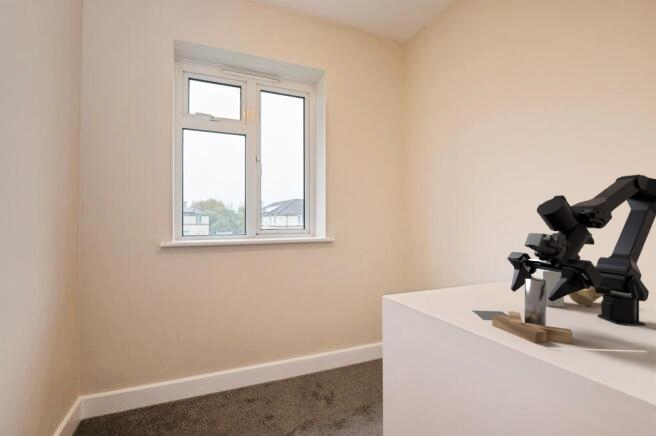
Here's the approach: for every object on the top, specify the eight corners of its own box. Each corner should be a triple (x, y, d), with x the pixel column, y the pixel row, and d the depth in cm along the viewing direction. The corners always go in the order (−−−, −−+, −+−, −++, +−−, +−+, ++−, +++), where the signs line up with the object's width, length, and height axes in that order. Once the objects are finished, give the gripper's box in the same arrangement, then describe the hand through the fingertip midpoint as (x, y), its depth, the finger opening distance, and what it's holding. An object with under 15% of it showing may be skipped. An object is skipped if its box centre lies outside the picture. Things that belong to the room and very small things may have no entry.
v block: (513, 320, 78) (513, 310, 78) (578, 344, 63) (578, 332, 63) (484, 323, 75) (484, 313, 75) (545, 349, 60) (545, 336, 60)
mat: (501, 312, 85) (501, 311, 85) (517, 322, 77) (517, 320, 77) (471, 311, 85) (471, 310, 85) (483, 320, 77) (483, 319, 77)
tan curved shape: (562, 283, 96) (589, 271, 99) (560, 302, 98) (587, 289, 101) (591, 296, 88) (620, 283, 91) (588, 316, 91) (616, 302, 94)
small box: (564, 307, 90) (564, 271, 90) (542, 306, 91) (543, 270, 91) (550, 300, 98) (550, 267, 98) (530, 299, 99) (530, 266, 99)
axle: (533, 328, 72) (533, 277, 72) (550, 334, 69) (550, 280, 68) (520, 330, 71) (520, 278, 71) (537, 336, 67) (537, 281, 67)
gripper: (513, 220, 80) (478, 264, 77) (592, 221, 62) (551, 278, 59) (536, 250, 82) (503, 294, 79) (619, 259, 64) (581, 316, 61)
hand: (529, 294), depth 69 cm, fingers open, 9 cm apart
